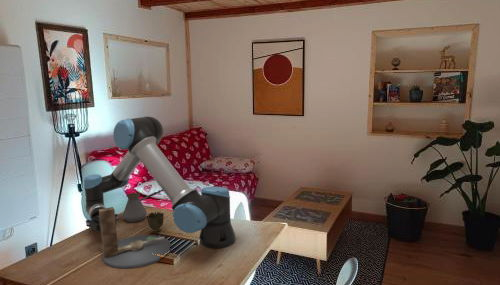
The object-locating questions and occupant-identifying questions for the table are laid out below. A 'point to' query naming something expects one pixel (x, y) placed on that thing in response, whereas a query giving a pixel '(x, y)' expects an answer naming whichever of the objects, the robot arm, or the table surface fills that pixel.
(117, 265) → the dial plate
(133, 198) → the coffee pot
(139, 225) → the table surface
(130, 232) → the table surface
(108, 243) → the brown bar with rod
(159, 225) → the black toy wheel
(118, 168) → the robot arm
